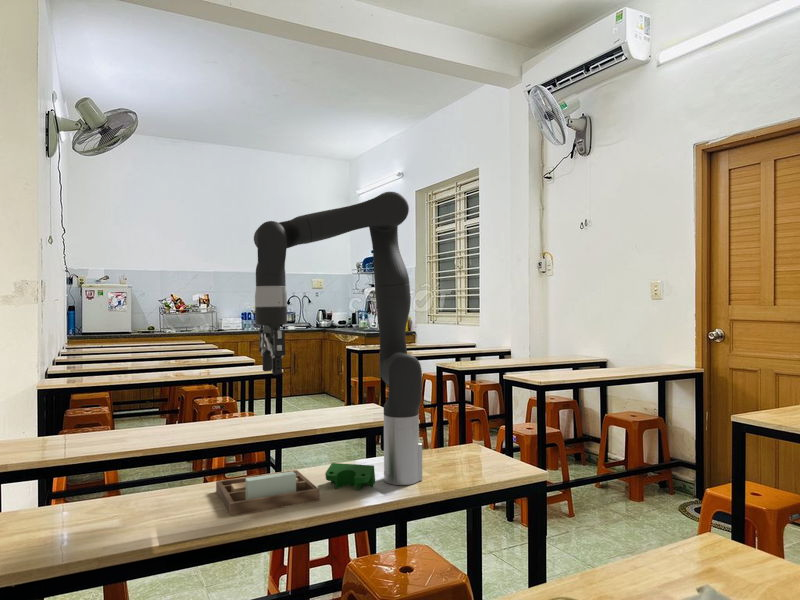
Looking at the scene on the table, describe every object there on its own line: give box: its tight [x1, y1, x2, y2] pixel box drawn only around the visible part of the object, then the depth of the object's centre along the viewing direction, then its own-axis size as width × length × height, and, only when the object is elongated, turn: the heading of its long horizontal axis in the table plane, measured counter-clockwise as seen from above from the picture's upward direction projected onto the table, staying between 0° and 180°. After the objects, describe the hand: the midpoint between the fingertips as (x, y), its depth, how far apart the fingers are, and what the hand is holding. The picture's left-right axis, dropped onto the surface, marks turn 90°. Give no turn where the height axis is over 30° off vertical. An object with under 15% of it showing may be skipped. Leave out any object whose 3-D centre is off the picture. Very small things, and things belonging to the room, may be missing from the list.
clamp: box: [324, 462, 376, 491], centre depth 138 cm, size 12×6×9 cm, turn 71°
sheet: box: [245, 470, 296, 500], centre depth 127 cm, size 6×2×11 cm
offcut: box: [231, 482, 246, 492], centre depth 131 cm, size 6×4×3 cm, turn 117°
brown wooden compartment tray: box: [215, 469, 320, 517], centre depth 132 cm, size 20×18×4 cm
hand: (272, 372), depth 134 cm, fingers open, 8 cm apart
